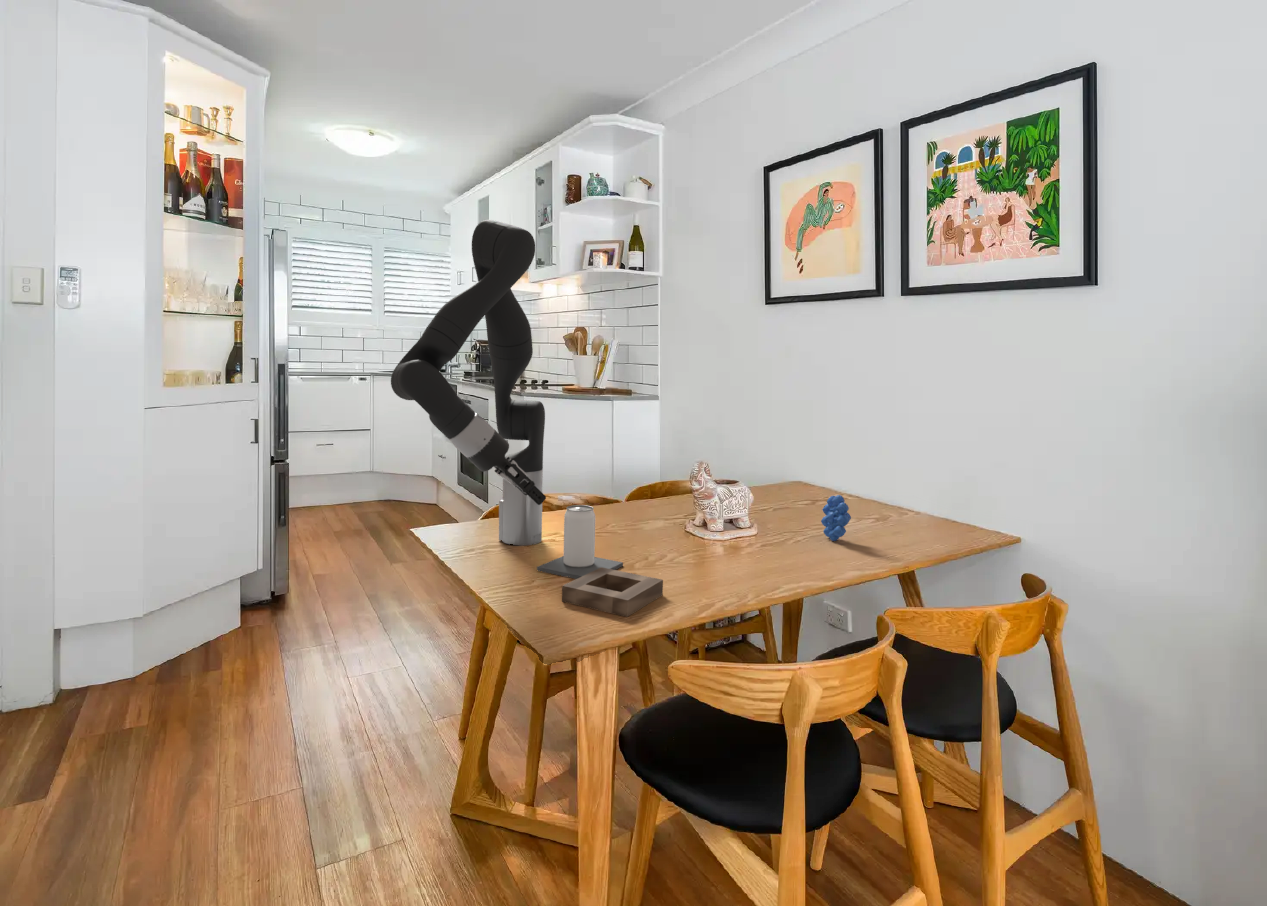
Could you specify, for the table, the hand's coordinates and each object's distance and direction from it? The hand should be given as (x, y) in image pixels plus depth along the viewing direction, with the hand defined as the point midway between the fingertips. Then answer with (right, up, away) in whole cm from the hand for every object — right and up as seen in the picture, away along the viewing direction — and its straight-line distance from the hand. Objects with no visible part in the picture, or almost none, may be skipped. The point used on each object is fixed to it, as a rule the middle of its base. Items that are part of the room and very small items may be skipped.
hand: (535, 496), depth 144 cm
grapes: (+70, -14, +37) cm, 81 cm away
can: (+8, -15, +8) cm, 18 cm away
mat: (+8, -15, +7) cm, 19 cm away
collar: (+16, -18, -10) cm, 26 cm away
